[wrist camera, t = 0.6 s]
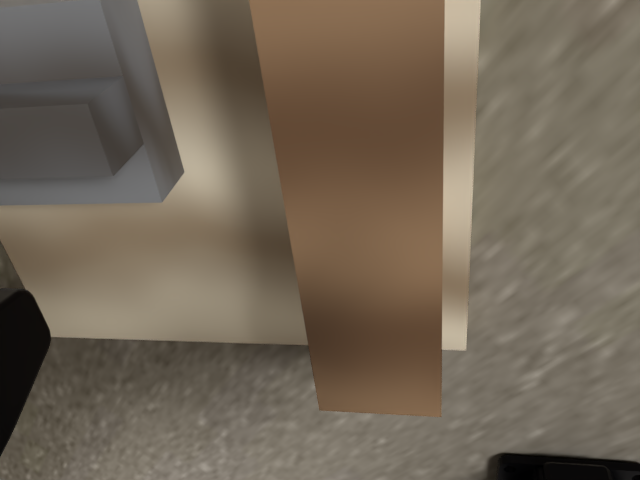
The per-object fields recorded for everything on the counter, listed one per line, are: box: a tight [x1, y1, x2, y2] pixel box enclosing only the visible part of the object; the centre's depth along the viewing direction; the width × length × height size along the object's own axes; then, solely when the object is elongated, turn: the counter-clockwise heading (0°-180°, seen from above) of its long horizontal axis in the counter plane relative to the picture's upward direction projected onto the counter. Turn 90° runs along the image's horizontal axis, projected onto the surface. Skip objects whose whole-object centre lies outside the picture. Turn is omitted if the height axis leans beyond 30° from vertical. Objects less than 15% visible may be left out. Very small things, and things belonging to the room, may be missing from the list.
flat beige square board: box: [0, 0, 481, 350], centre depth 16 cm, size 22×18×5 cm
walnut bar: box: [249, 0, 445, 417], centre depth 15 cm, size 20×4×4 cm, turn 7°
